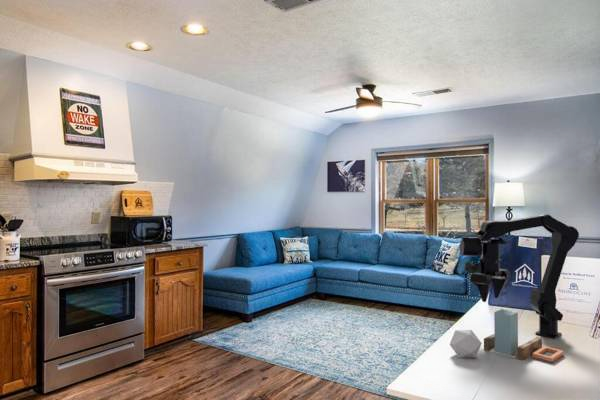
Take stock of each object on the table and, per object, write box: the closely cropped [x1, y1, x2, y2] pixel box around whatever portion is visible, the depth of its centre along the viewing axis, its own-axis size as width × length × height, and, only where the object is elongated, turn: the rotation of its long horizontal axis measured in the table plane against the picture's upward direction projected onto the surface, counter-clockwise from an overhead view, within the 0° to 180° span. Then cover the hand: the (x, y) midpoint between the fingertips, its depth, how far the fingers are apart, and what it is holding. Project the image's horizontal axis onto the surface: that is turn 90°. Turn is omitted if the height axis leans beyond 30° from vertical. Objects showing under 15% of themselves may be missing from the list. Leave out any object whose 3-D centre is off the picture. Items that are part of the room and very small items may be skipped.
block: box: [493, 308, 519, 357], centre depth 134 cm, size 5×5×12 cm
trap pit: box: [531, 345, 565, 364], centre depth 130 cm, size 9×6×2 cm, turn 129°
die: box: [449, 329, 482, 359], centre depth 132 cm, size 8×9×10 cm
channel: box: [483, 333, 543, 361], centre depth 137 cm, size 14×12×4 cm
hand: (490, 299), depth 152 cm, fingers open, 9 cm apart
